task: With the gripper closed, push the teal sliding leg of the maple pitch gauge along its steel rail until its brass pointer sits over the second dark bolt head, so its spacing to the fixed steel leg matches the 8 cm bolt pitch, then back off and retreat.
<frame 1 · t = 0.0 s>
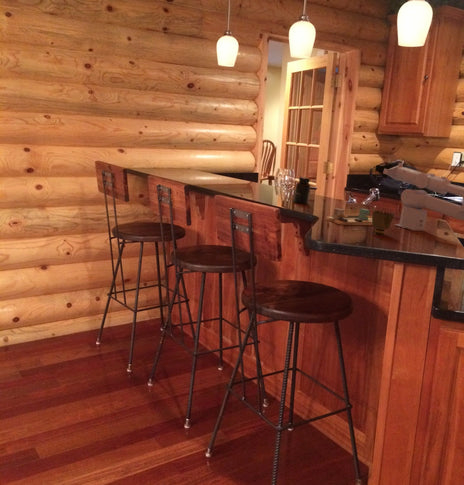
hand: (382, 168, 221), 22 cm above the counter, tool horizontal, fingers open, 7 cm apart
supplement bottle: (300, 203, 245), on the counter
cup: (379, 234, 188), on the counter
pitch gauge: (355, 222, 208), on the counter
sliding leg: (366, 215, 208), point 3 cm above the counter, slide at 0.0 cm
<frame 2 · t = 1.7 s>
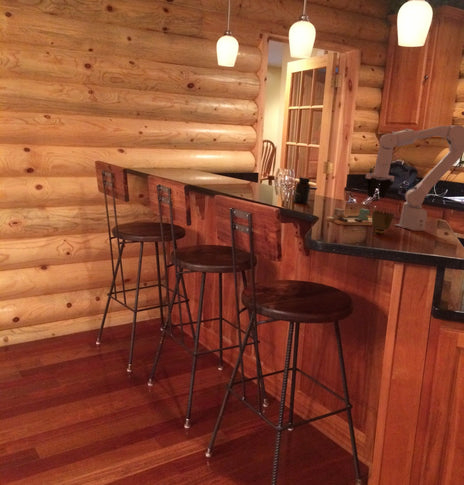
hand: (376, 197, 211), 10 cm above the counter, tool pointing down, fingers open, 6 cm apart
nothing on the counter moved.
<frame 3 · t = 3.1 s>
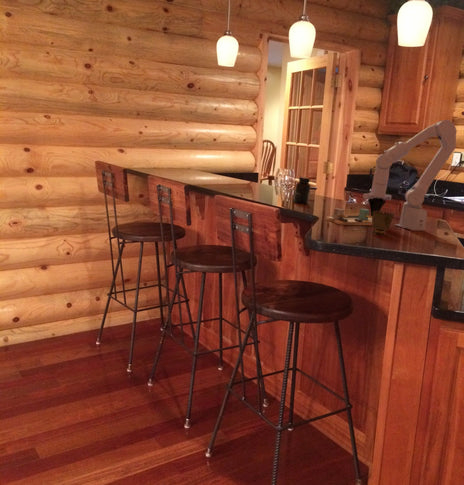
hand: (373, 216, 212), 2 cm above the counter, tool pointing down, fingers closed
nothing on the counter moved.
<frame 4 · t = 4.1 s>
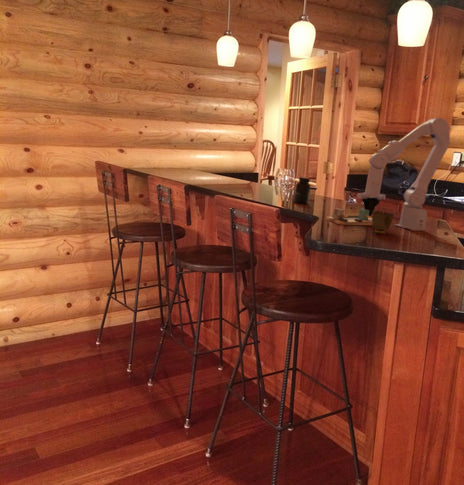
hand: (367, 216, 211), 2 cm above the counter, tool pointing down, fingers closed
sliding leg: (366, 215, 208), point 3 cm above the counter, slide at 0.1 cm, touching gripper
everything else where it was.
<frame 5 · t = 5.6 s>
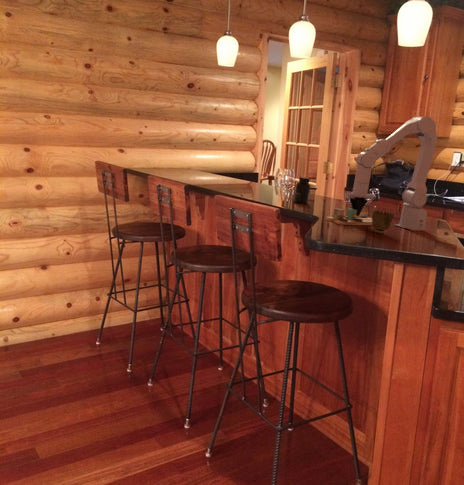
hand: (355, 216, 207), 2 cm above the counter, tool pointing down, fingers closed
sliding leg: (354, 215, 204), point 3 cm above the counter, slide at 7.1 cm, touching gripper
everything else where it was.
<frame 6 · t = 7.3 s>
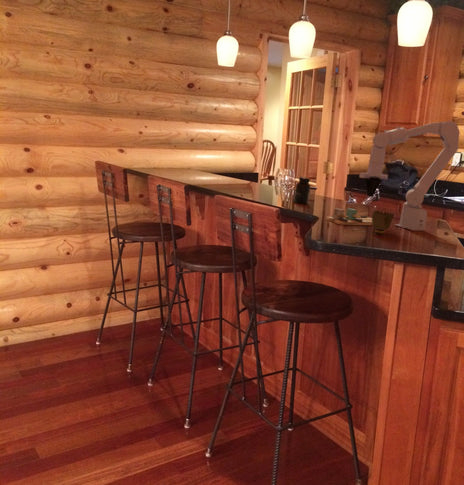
hand: (370, 196, 212), 10 cm above the counter, tool pointing down, fingers closed
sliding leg: (354, 215, 204), point 3 cm above the counter, slide at 7.1 cm
everything else where it was.
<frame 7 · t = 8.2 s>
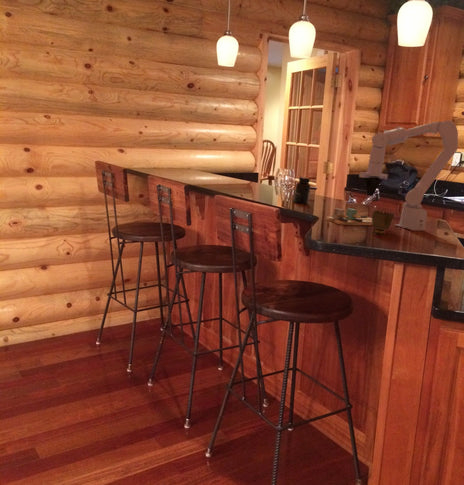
hand: (370, 195, 214), 10 cm above the counter, tool pointing down, fingers closed
nothing on the counter moved.
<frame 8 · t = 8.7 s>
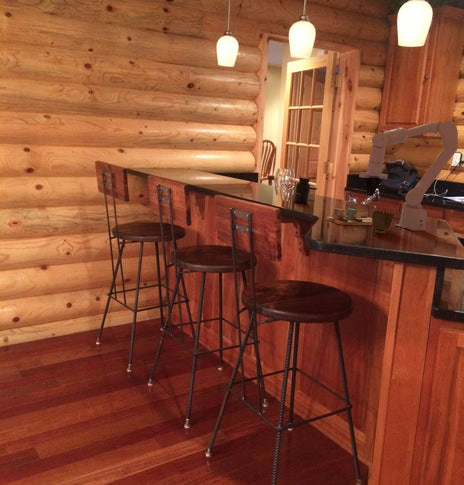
hand: (370, 195, 214), 10 cm above the counter, tool pointing down, fingers closed
nothing on the counter moved.
at the end: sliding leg slide at 7.1 cm; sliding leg 0.9 cm from the target spot on the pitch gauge, point 3.3 cm above the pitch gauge's base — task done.
